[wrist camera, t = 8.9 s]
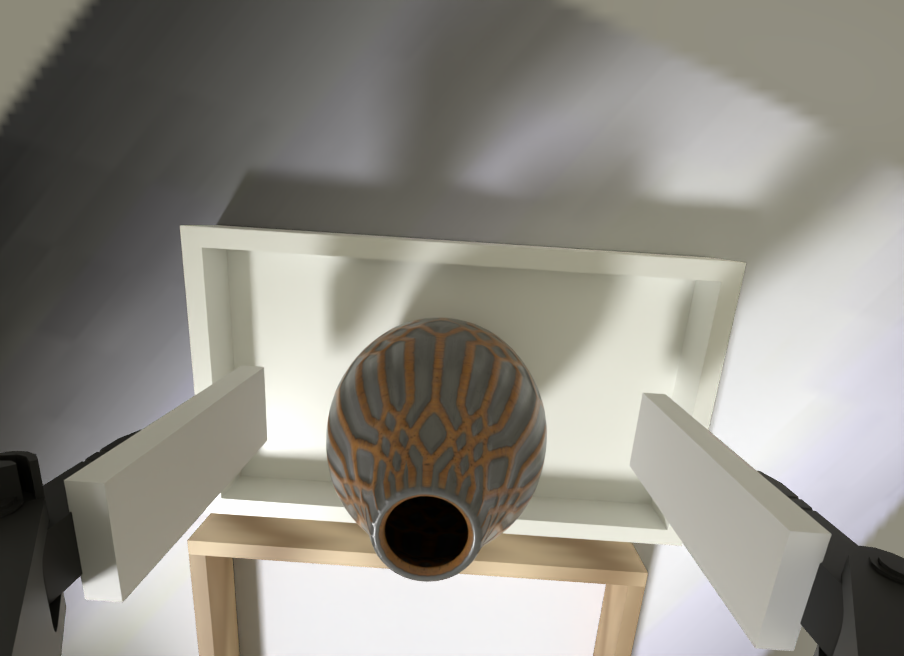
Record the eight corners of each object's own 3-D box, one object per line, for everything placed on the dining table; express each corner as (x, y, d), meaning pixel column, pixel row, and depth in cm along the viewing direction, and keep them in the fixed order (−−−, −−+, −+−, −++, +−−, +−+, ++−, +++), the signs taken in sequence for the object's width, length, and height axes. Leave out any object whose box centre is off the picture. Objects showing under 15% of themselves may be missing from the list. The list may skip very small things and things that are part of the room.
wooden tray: (229, 694, 23) (207, 739, 21) (214, 509, 20) (187, 540, 18) (594, 721, 22) (606, 768, 21) (629, 538, 20) (647, 572, 18)
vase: (532, 303, 17) (608, 386, 8) (521, 462, 18) (575, 671, 10) (355, 299, 17) (247, 377, 8) (360, 458, 18) (275, 660, 10)
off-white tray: (233, 480, 19) (205, 512, 17) (215, 225, 17) (179, 225, 15) (657, 510, 19) (681, 546, 17) (710, 257, 17) (746, 262, 14)
